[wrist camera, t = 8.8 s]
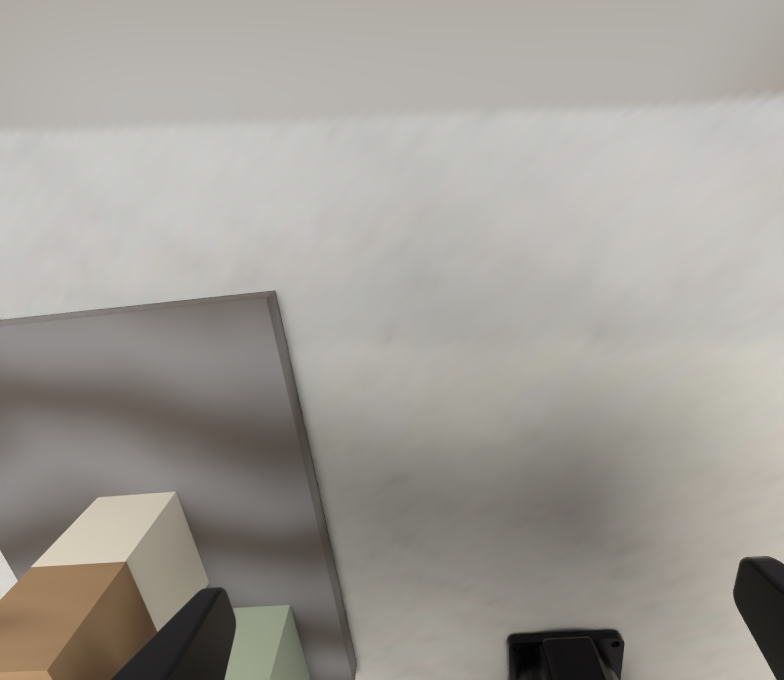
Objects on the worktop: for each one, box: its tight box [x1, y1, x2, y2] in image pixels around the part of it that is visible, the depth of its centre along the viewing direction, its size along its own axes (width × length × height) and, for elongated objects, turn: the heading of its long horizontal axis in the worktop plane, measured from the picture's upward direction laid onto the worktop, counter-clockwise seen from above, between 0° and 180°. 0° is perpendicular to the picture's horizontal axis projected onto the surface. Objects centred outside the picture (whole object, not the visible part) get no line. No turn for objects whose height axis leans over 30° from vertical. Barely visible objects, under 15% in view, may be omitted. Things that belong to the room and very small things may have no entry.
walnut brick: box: [0, 561, 157, 680], centre depth 16 cm, size 6×4×4 cm, turn 7°
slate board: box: [0, 291, 356, 680], centre depth 22 cm, size 24×17×1 cm
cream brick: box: [31, 492, 209, 632], centre depth 20 cm, size 6×4×4 cm, turn 7°
